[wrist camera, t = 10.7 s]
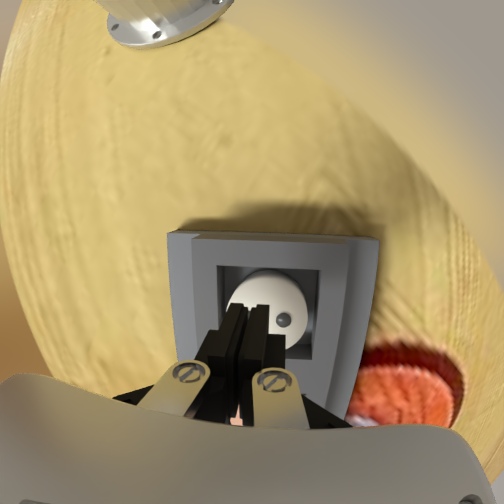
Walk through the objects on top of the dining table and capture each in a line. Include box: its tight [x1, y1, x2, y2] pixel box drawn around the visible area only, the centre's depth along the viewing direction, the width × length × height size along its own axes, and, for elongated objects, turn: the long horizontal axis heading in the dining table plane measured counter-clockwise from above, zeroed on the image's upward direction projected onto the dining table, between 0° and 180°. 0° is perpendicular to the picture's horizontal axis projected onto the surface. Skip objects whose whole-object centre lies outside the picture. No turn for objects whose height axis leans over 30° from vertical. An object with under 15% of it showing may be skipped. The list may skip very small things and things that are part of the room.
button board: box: [167, 230, 380, 425], centre depth 20 cm, size 27×14×4 cm, turn 179°
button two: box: [226, 270, 308, 349], centre depth 17 cm, size 5×5×2 cm
